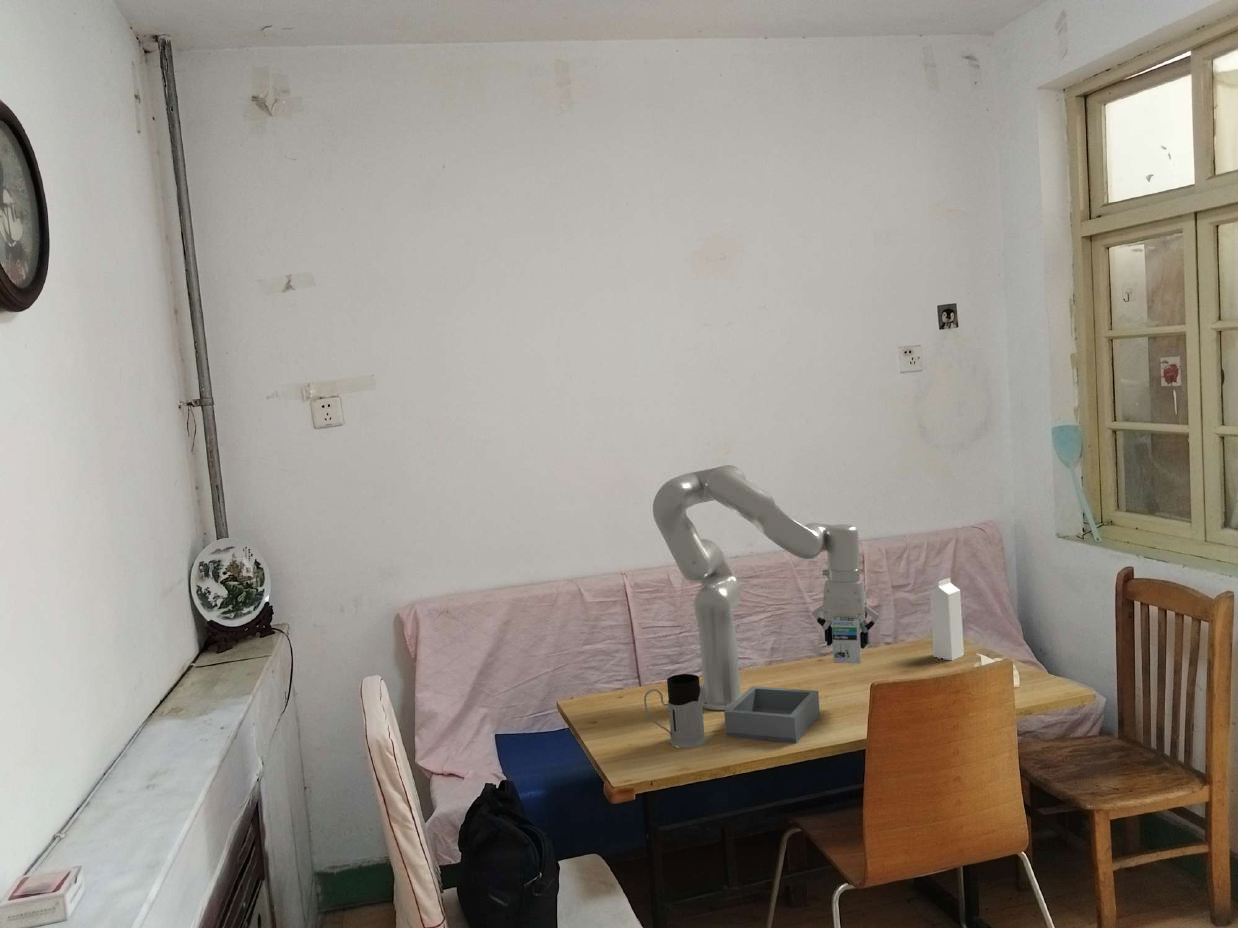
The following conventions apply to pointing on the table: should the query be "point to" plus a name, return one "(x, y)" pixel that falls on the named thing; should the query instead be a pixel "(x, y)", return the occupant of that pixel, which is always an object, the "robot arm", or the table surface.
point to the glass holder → (683, 711)
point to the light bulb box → (846, 640)
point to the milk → (946, 621)
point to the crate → (772, 714)
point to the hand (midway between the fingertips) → (846, 645)
